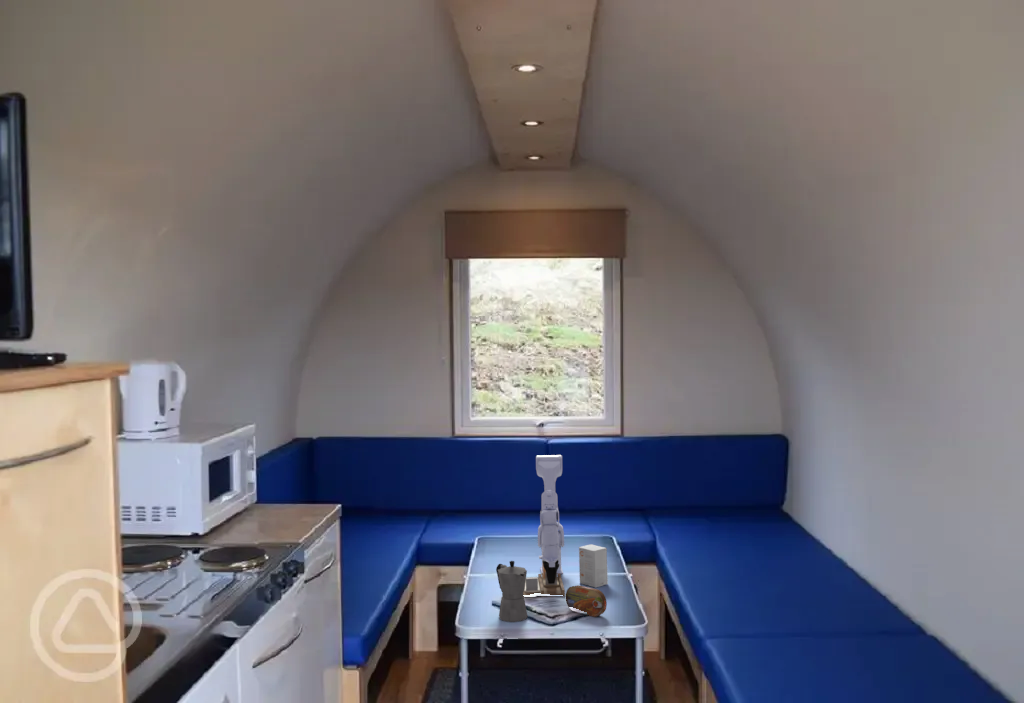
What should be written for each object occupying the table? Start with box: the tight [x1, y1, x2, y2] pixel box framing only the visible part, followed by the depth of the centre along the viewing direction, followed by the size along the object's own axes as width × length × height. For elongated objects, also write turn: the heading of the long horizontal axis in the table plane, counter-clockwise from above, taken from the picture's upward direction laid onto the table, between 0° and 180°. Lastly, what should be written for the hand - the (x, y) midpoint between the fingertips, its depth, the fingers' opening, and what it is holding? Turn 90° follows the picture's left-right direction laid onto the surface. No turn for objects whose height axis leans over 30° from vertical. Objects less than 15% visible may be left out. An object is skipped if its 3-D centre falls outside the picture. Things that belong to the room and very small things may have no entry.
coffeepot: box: [495, 560, 528, 623], centre depth 278 cm, size 15×9×18 cm, turn 33°
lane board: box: [523, 573, 566, 597], centre depth 307 cm, size 20×15×2 cm
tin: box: [564, 585, 608, 618], centre depth 280 cm, size 15×3×8 cm, turn 47°
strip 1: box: [524, 576, 540, 593], centre depth 307 cm, size 15×5×5 cm, turn 1°
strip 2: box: [540, 572, 559, 587], centre depth 313 cm, size 15×5×5 cm, turn 1°
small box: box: [578, 543, 608, 589], centre depth 311 cm, size 8×6×13 cm
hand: (551, 582), depth 307 cm, fingers closed on strip 2, 2 cm apart
